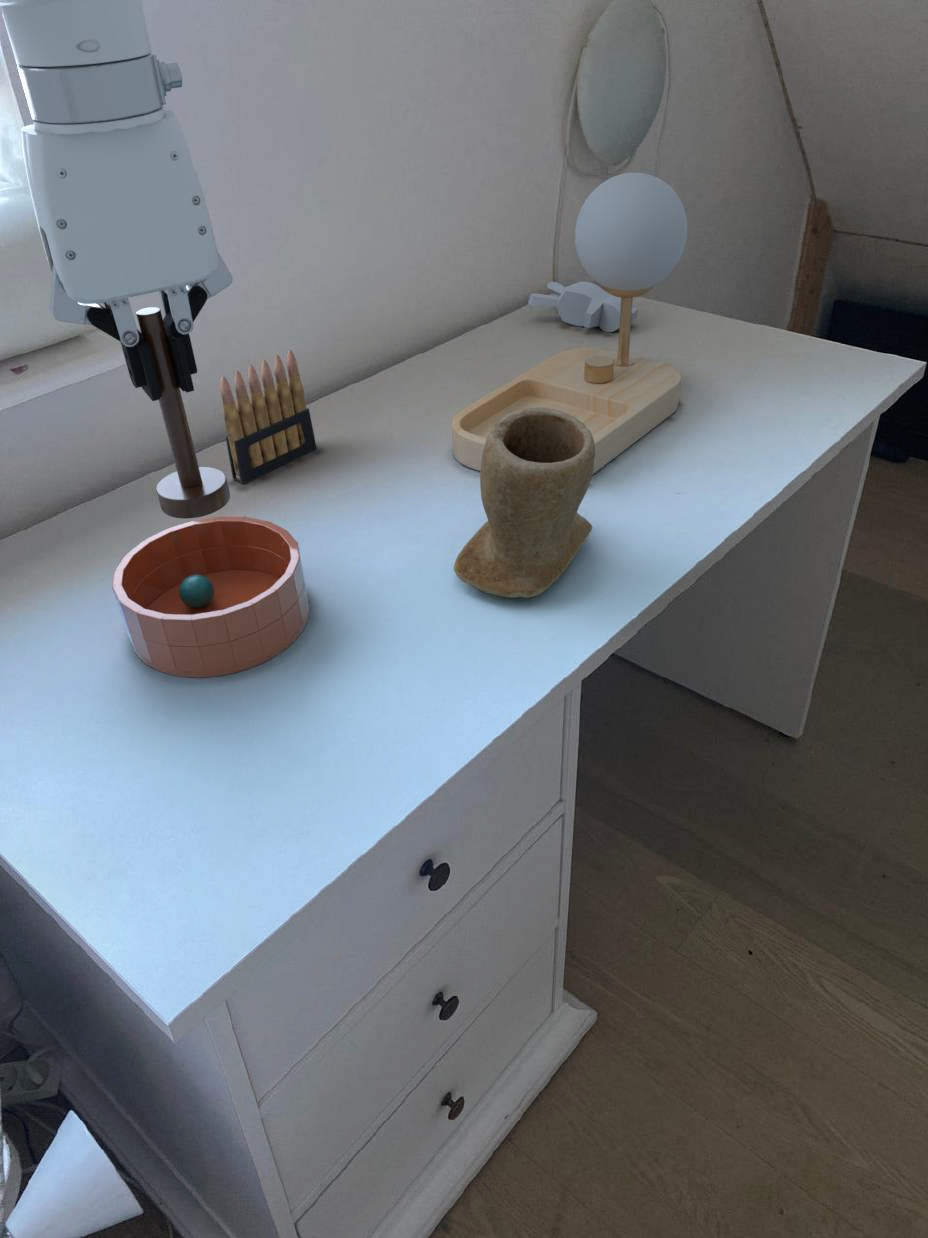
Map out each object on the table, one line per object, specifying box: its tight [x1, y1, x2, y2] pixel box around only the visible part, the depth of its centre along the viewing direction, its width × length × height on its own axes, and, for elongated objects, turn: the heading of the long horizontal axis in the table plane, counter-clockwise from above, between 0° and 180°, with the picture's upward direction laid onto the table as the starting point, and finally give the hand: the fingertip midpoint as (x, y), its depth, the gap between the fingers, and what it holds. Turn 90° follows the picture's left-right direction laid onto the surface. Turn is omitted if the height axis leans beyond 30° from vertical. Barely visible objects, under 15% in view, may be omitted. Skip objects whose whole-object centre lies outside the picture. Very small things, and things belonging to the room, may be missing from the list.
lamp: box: [451, 172, 688, 475], centre depth 105 cm, size 33×17×25 cm, turn 142°
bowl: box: [111, 516, 310, 678], centre depth 82 cm, size 16×16×6 cm
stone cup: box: [453, 407, 595, 599], centre depth 85 cm, size 15×12×15 cm
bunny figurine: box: [527, 280, 639, 333], centre depth 137 cm, size 10×5×15 cm
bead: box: [179, 575, 214, 608], centre depth 84 cm, size 3×3×3 cm
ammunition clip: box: [220, 349, 317, 485], centre depth 104 cm, size 11×2×12 cm, turn 137°
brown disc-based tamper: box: [135, 306, 231, 519], centre depth 68 cm, size 5×5×15 cm
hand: (167, 388), depth 67 cm, fingers closed on brown disc-based tamper
